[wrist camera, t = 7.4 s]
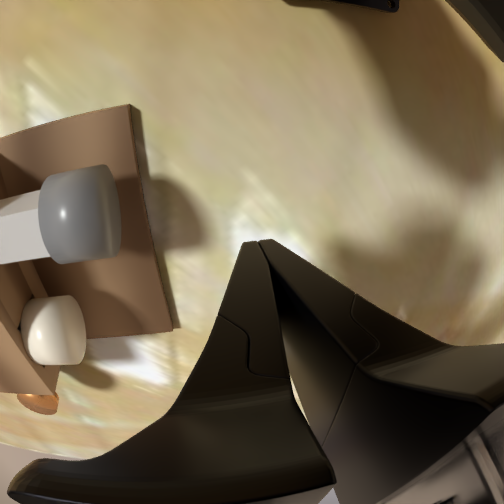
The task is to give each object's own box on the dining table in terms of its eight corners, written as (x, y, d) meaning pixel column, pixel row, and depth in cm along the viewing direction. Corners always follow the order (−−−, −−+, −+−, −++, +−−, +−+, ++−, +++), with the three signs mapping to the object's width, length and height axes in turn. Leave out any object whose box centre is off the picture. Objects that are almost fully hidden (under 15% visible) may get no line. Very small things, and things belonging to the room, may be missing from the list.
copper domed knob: (56, 342, 20) (43, 392, 16) (72, 368, 22) (64, 415, 18) (24, 343, 20) (9, 390, 16) (41, 368, 21) (31, 413, 18)
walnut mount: (129, 104, 13) (98, 128, 8) (173, 324, 21) (175, 396, 16) (-62, 163, 11) (-118, 207, 7) (15, 336, 19) (-5, 395, 14)
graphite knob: (109, 152, 13) (86, 185, 10) (125, 227, 15) (112, 276, 12) (-36, 190, 11) (-75, 227, 8) (-14, 251, 14) (-43, 294, 10)
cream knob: (68, 280, 16) (50, 331, 13) (90, 328, 18) (80, 378, 15) (-37, 293, 14) (-60, 333, 11) (-12, 333, 17) (-29, 374, 14)
